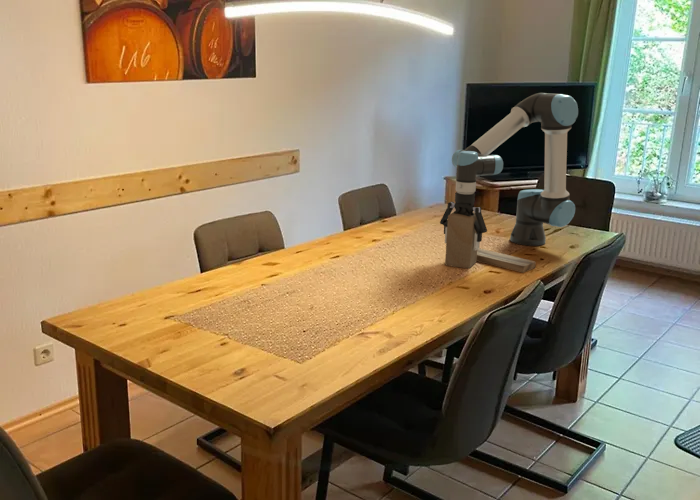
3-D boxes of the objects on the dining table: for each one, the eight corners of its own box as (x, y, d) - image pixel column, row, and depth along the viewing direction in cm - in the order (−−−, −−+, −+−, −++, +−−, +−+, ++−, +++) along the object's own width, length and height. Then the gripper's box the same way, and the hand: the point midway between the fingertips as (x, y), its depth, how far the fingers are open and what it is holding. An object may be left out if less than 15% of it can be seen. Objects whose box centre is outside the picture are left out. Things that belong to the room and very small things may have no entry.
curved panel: (474, 252, 286) (474, 244, 285) (535, 267, 267) (535, 259, 266) (461, 257, 279) (462, 248, 278) (523, 272, 261) (524, 263, 260)
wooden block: (469, 269, 264) (473, 218, 258) (444, 265, 268) (447, 215, 262) (476, 262, 273) (480, 213, 267) (452, 258, 277) (455, 210, 271)
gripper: (432, 188, 268) (430, 241, 274) (487, 198, 252) (483, 254, 257) (444, 186, 273) (441, 238, 279) (499, 195, 257) (494, 250, 263)
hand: (461, 246), depth 268 cm, fingers open, 13 cm apart
